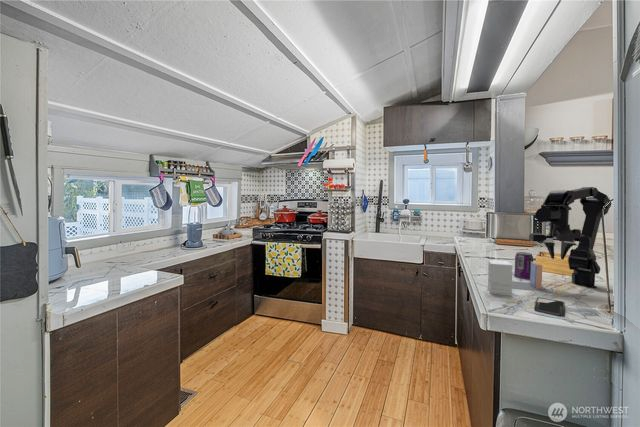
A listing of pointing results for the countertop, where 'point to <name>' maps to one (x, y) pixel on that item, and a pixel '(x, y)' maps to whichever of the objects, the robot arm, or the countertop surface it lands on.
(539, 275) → the tile
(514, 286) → the mat
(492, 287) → the supplement box
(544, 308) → the phone
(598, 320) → the countertop surface
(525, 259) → the beverage can
